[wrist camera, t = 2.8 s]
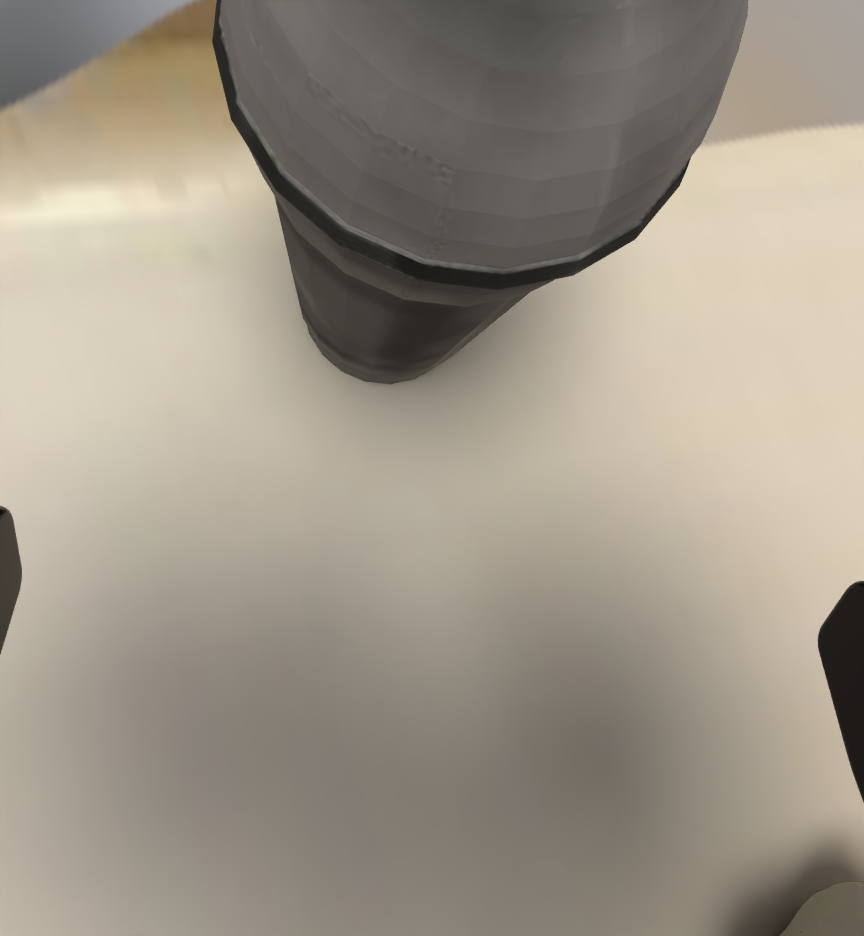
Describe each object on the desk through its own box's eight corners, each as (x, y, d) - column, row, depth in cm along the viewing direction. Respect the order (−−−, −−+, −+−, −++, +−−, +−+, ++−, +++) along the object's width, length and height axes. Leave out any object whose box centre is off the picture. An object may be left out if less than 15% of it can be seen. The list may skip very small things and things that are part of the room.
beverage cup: (529, 225, 24) (1601, -1358, 4) (480, 460, 23) (1650, -259, 3) (288, 154, 23) (263, -2312, 3) (222, 395, 22) (-418, -1239, 2)
